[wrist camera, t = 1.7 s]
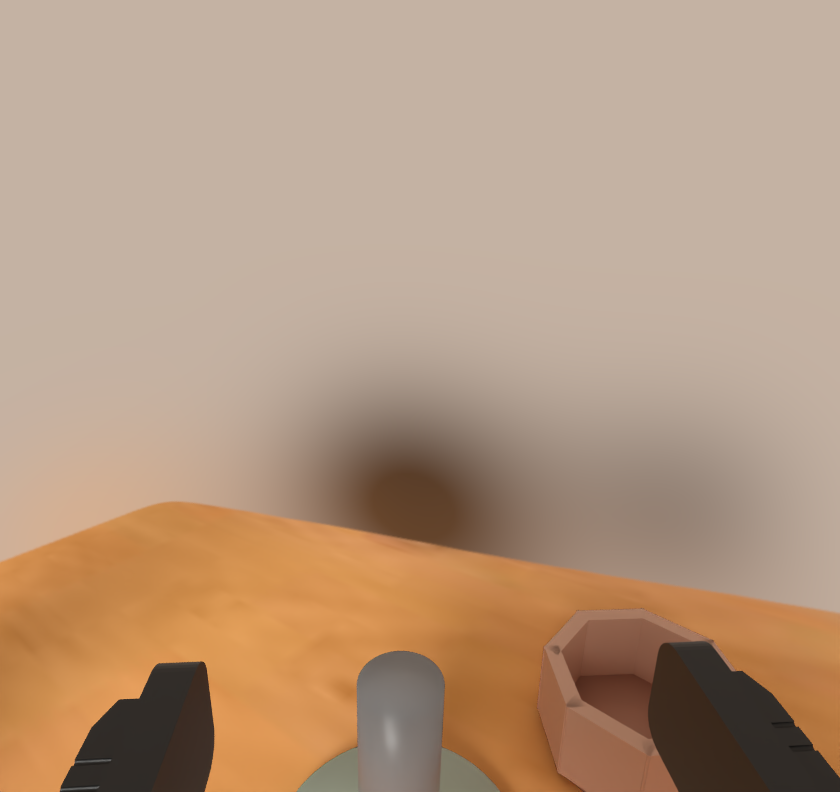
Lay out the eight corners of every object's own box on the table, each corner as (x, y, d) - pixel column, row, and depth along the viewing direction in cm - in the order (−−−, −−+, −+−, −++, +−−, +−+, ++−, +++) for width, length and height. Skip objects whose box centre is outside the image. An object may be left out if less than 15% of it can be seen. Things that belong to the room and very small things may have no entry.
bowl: (574, 835, 29) (585, 760, 28) (524, 674, 39) (530, 611, 38) (773, 822, 30) (796, 749, 29) (675, 668, 40) (687, 606, 38)
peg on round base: (241, 1052, 22) (214, 843, 18) (286, 758, 33) (275, 593, 30) (559, 1024, 23) (594, 820, 19) (497, 747, 34) (512, 586, 30)
